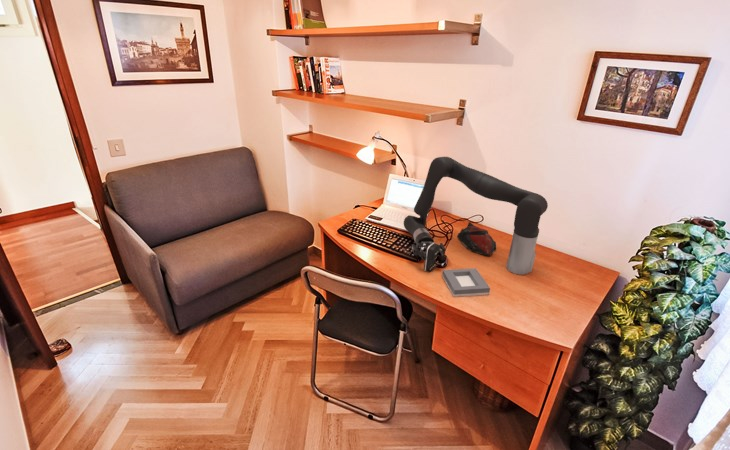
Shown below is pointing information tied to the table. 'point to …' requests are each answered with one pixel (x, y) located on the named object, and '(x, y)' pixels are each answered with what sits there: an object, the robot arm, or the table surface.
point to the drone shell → (477, 240)
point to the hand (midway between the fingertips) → (433, 257)
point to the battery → (431, 256)
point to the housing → (465, 282)
